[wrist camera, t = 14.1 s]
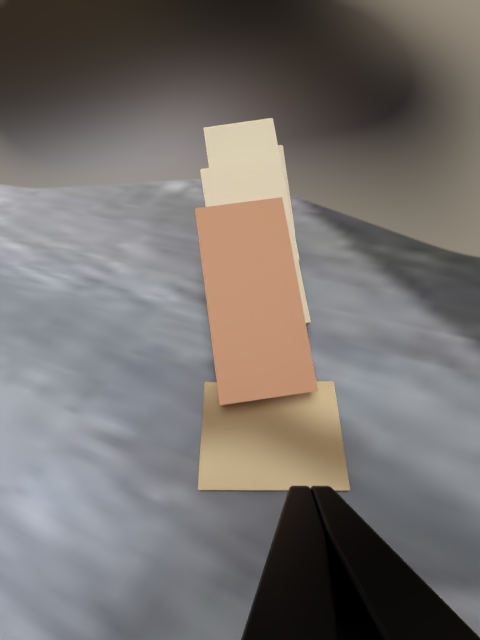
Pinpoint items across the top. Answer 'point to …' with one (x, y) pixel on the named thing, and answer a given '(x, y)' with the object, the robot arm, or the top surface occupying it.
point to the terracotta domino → (254, 302)
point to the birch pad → (272, 442)
